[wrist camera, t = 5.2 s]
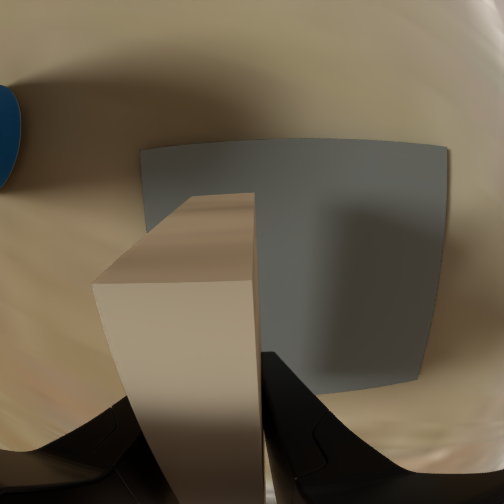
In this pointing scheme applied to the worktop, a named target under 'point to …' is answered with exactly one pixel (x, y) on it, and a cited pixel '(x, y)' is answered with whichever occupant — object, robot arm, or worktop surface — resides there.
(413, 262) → the mat
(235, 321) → the rectangular block
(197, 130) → the worktop surface
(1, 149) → the beverage can
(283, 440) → the robot arm
